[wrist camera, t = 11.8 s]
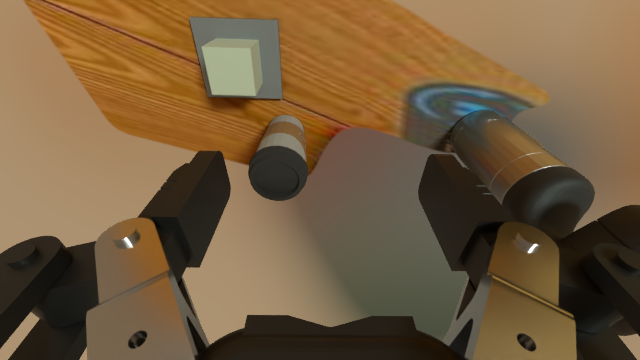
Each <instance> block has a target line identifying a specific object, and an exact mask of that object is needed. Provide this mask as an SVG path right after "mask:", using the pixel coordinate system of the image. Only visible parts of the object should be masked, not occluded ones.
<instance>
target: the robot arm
mask: <svg viewBox="0 0 640 360" xmlns="http://www.w3.org/2000/svg"><path fill="white" fill-rule="evenodd" d="M450 146H451V148H452V149H453V151H454V152H455V153H456V154H457V155H458V157H459V158H460V159H461V160H462V162H463V163H464V164H465V165H466V166H467V168H468V169H469V170H468V169H467V168H465V167H464V168H463V167H462V166H461V165H460V163H459V162H458V161H457V160H456V158H455V157H454V156H453V155H451V154H447V155H446V154H431V155H430V156H429V157H428V160H427V162H426V166H425V169H424V172H423V175H422V178H421V182H420V185H419V190H418V193H419V200H420V203H421V205H422V207H423V209H424V211H425V213H426V216H427V218H428V220H429V222H430V224H431V227H432V229H433V231H434V233H435V235H436V237H437V239H438V242H439V244H440V246H441V248H442V250H443V252H444V255H445V257H446V259H447V261H448V263H449V266H450V268H451V270H452V271H466V272H467V274H468V276H469V277H468V279H467V280H466V282H465V285H464V288H463V291H462V294H461V297H460V300H459V303H458V306H457V308H456V312H455V315H454V317H453V321H452V324H451V326H450V329H449V331H448V333H447V335H446V337H445V339H444V341H443V342H442V341H440V340H438V339H437V338H435V337H433V336H431V335H429V334H426V333H424V332H421V331H418V330H416V328H415V324H414V320H413V317H412V316H371V317H367V318H363V319H360V320H356V321H353V322H349V323H346V324H342V325H339V326H335V327H326V326H323V325H319V324H316V323H313V322H309V321H306V320H302V319H299V318H295V317H292V316H288V315H247V319H246V323H245V328H243V329H239V330H237V331H234V332H232V333H229V334H227V335H226V336H224V337H222V338H220V339H218V340H217V341H215V342H214V343H212V344H211V345H210V344H209V342H208V340H207V338H206V335H205V333H204V331H203V329H202V327H201V324H200V322H199V319H198V316H197V313H196V311H195V308H194V305H193V303H192V300H191V297H190V295H189V293H188V289H187V287H186V284H185V281H184V279H183V277H182V275H183V273H184V271H185V269H186V267H200V265H201V262H202V260H203V258H204V256H205V253H206V251H207V248H208V246H209V244H210V242H211V239H212V237H213V235H214V232H215V230H216V228H217V225H218V223H219V221H220V218H221V216H222V214H223V211H224V208H225V207H226V204H227V202H228V200H229V197H230V182H229V177H228V173H227V169H226V165H225V161H224V157H223V154H222V152H221V151H199V152H198V153H197V154H196V155H195V157H194V158H193V159H192V161H191V162H190V163H189V164H188V163H185V164H184V165H182V166H181V167H179V168H178V169H176V170H175V171H174V172H173V173H172V174H171V176H170V177H169V178H168V179H167V182H165V183H164V184H163V186H162V187H161V190H159V191H158V192H157V193H156V195H155V196H154V197H153V199H152V200H151V201H150V202H149V204H148V205H147V206H146V207H145V209H144V210H143V211H142V212H141V214H140V215H139V216H138V217H137V218H132V219H128V220H125V221H122V222H119V223H117V224H115V225H113V226H112V227H110V228H108V229H107V230H106V231H105V232H103V233H102V234H101V236H100V237H99V238H98V240H97V241H94V242H90V243H86V244H81V245H76V246H72V247H67V248H66V247H65V246H64V245H63V243H62V242H61V241H60V240H59V239H58V238H56V237H53V236H41V237H36V238H32V239H29V240H26V241H23V242H21V243H19V244H16V245H14V246H12V247H11V248H9V249H8V250H6V251H4V252H3V253H1V254H0V348H1V347H2V346H3V345H4V343H5V342H6V341H7V340H8V339H9V337H10V336H11V335H12V334H13V333H14V331H15V330H16V329H17V328H18V326H19V325H20V324H21V322H23V320H24V319H25V318H26V317H27V315H28V314H29V313H30V312H32V313H33V314H35V315H36V316H37V317H39V318H40V319H39V321H38V322H37V323H36V325H35V326H34V327H33V329H32V330H31V331H30V332H29V334H28V335H27V336H26V337H25V339H24V340H23V341H22V343H21V344H20V345H19V347H18V348H17V349H16V350H15V352H14V353H13V354H12V356H11V357H10V358H9V359H8V360H79V359H80V357H81V355H82V354H83V352H84V350H85V349H86V347H87V357H88V360H637V359H636V358H635V357H634V355H633V354H632V353H631V351H630V350H629V349H628V348H627V346H626V345H625V344H624V343H623V341H622V340H621V339H620V338H619V336H618V335H620V336H628V335H633V334H638V335H639V336H640V205H629V206H625V207H622V208H620V209H617V210H614V211H612V212H610V213H608V214H606V215H604V216H602V217H601V218H599V219H597V220H598V222H597V221H593V222H591V223H589V224H587V225H586V226H584V227H582V228H580V229H578V230H576V231H575V232H573V231H574V228H575V227H576V224H577V223H578V222H579V221H580V219H581V218H582V217H583V215H584V214H585V213H586V212H587V211H588V209H589V208H590V206H591V204H592V202H593V200H594V194H595V192H594V188H593V186H592V184H591V183H590V181H589V180H588V179H586V178H585V177H584V176H583V175H581V174H580V173H578V172H577V171H576V170H574V169H573V168H571V167H570V166H569V165H567V164H566V163H565V162H563V161H562V160H560V159H559V158H558V157H556V156H555V155H553V154H552V153H550V152H549V151H548V150H546V149H545V148H543V145H542V144H541V143H540V142H539V141H537V140H536V139H534V138H533V137H531V136H530V135H529V134H527V133H526V132H525V131H523V130H522V129H520V128H519V127H518V126H516V125H515V124H514V123H512V122H511V121H509V120H508V119H506V118H503V117H501V116H500V115H499V114H497V113H496V112H494V111H491V110H479V111H475V112H472V113H470V114H468V115H466V116H465V117H464V118H462V119H461V120H460V121H459V122H458V123H457V124H456V125H455V127H454V128H453V130H452V132H451V134H450Z"/></svg>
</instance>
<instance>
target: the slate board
mask: <svg viewBox="0 0 640 360" xmlns="http://www.w3.org/2000/svg"><path fill="white" fill-rule="evenodd" d="M189 19H190V23H191V28H192V32H193V36H194V40H195V44H196V49H197V53H198V57H199V61H200V65H201V70H202V74H203V78H204V82H205V87H206V91H207V95H208V97H226V98H270V99H282V98H283V91H282V74H281V57H280V40H279V23H278V19H252V18H221V17H189ZM216 38H224V39H251V40H259V49H260V59H261V69H262V80H263V83H262V85H261V87H260V89H259V91H258V93H257V95H256V96H238V95H212V92H211V88H210V83H209V78H208V74H207V69H206V65H205V60H204V56H203V51H202V46H204V45H205V44H207V43H209V42H210V41H212V40H214V39H216Z"/></svg>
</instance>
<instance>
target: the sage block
mask: <svg viewBox="0 0 640 360" xmlns="http://www.w3.org/2000/svg"><path fill="white" fill-rule="evenodd" d="M202 51H203V56H204V60H205V65H206V69H207V74H208V78H209V83H210V88H211V92H212V95H238V96H256V95H257V93H258V91H259V89H260V87H261V85H262V83H263V80H262V69H261V59H260V49H259V40H251V39H224V38H216V39H214V40H212V41H210V42H209V43H207V44H205V45H204V46H202Z"/></svg>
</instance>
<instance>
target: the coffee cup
mask: <svg viewBox="0 0 640 360" xmlns="http://www.w3.org/2000/svg"><path fill="white" fill-rule="evenodd" d="M248 174H249V179H250V182H251V185H252V187H253V188H254V190H255V191H256V192H257V193H258V194H260V195H261V196H263V197H265V198H267V199H270V200H275V201H283V200H288V199H291V198H293V197H295V196H296V195H297V194H298V193H299V192H300V191H301V190H302V188H303V187H304V185H305V183H306V180H307V176H308V167H307V164H306V146H305V135H304V129H303V126H302V124H301V123H300V121H299V120H297V119H296V118H294V117H292V116H289V115H281V116H278V117H276V118H274V119H273V120H272V121H271V123H270V125H269V127H268V128H267V130H266V132H265V134H264V136H263V138H262V140H261V142H260V144H259V146H258V148H257V151H256V153H255V154H254V155H253V156H252V158H251V160H250V164H249V172H248Z"/></svg>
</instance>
